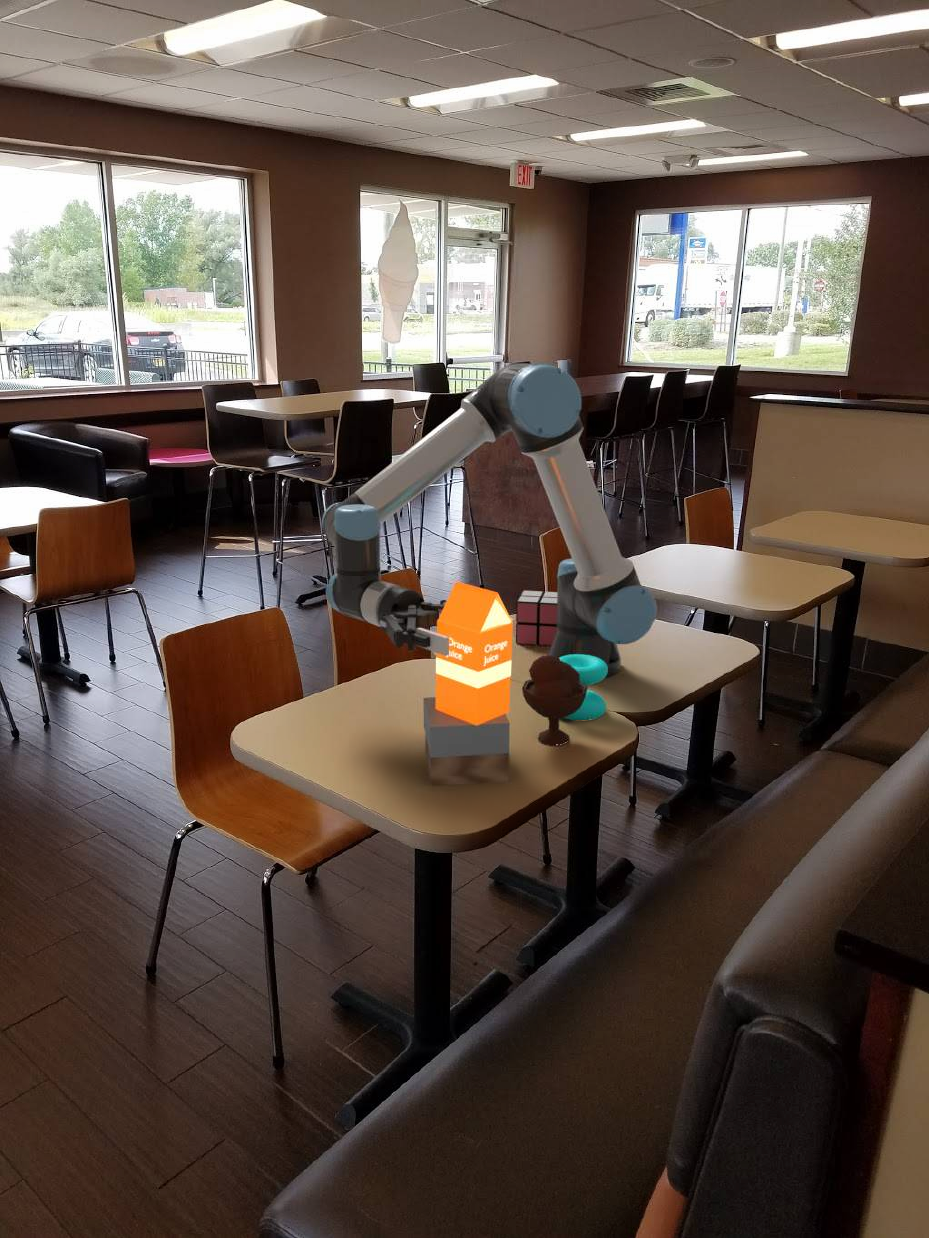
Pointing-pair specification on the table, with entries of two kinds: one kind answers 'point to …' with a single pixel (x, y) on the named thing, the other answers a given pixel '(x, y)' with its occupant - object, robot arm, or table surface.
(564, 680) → the ice cream bowl
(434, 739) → the upper block
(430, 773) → the lower block
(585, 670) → the donuts
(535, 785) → the table surface
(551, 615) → the puzzle cube
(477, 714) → the orange juice
